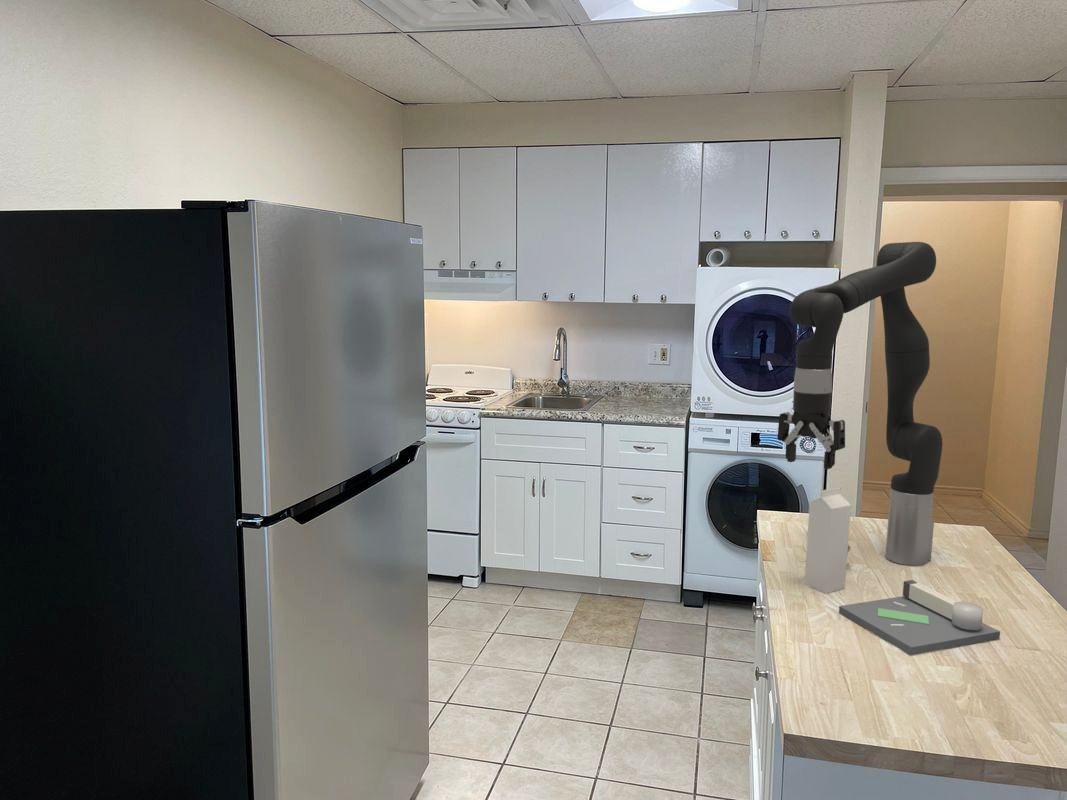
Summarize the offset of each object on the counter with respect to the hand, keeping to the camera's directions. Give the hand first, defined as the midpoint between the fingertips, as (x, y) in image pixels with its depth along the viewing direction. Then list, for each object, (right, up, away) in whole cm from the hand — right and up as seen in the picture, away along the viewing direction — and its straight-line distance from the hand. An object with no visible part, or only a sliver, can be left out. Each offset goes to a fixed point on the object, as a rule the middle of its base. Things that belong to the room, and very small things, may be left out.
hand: (809, 464), depth 170 cm
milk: (+5, -27, +6) cm, 28 cm away
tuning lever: (+22, -28, -12) cm, 37 cm away
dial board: (+16, -30, -14) cm, 37 cm away
